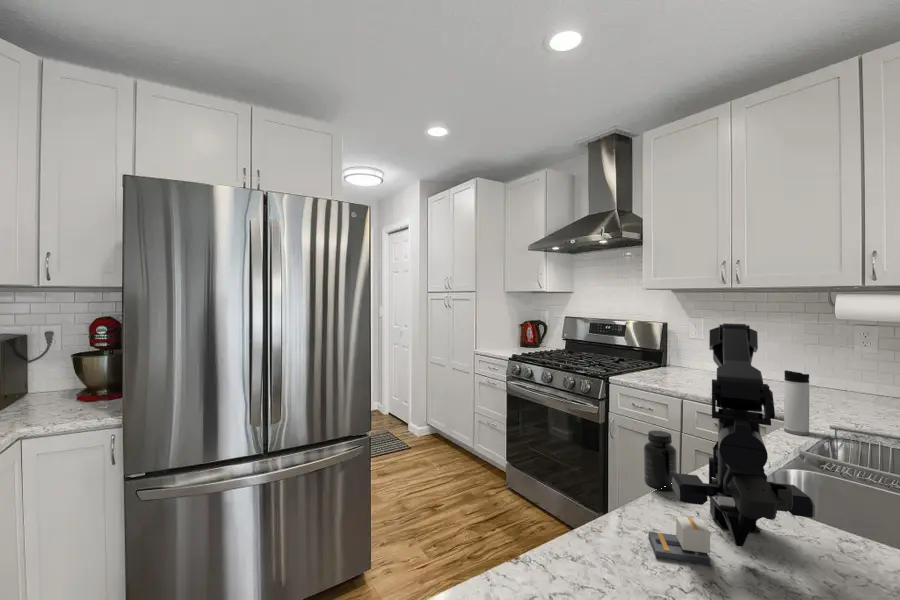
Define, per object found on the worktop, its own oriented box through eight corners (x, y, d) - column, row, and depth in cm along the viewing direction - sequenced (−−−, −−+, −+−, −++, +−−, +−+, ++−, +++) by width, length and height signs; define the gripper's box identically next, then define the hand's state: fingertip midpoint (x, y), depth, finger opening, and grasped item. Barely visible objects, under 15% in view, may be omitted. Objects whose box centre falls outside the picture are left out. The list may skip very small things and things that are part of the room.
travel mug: (778, 429, 138) (778, 369, 138) (796, 429, 138) (796, 368, 138) (795, 436, 131) (796, 372, 131) (814, 435, 132) (814, 372, 132)
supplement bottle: (666, 478, 100) (666, 428, 100) (683, 491, 93) (683, 438, 93) (638, 479, 100) (638, 428, 100) (653, 492, 93) (653, 438, 93)
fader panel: (698, 544, 73) (698, 537, 73) (710, 566, 67) (710, 557, 67) (648, 538, 75) (648, 530, 75) (655, 558, 69) (656, 550, 69)
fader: (701, 539, 72) (701, 517, 72) (709, 553, 68) (710, 530, 68) (676, 536, 73) (676, 514, 73) (682, 549, 69) (682, 526, 69)
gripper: (690, 463, 63) (689, 566, 63) (838, 477, 59) (837, 588, 59) (671, 439, 74) (670, 527, 74) (795, 449, 69) (794, 543, 69)
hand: (738, 545), depth 69 cm, fingers closed
